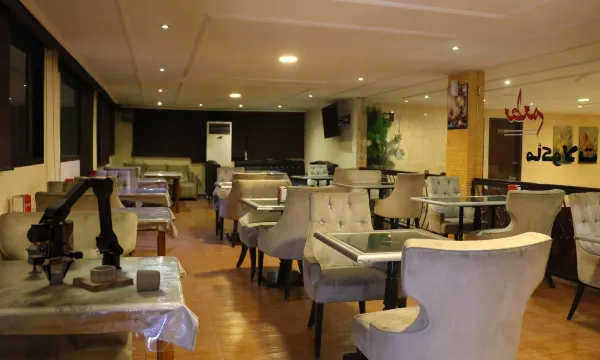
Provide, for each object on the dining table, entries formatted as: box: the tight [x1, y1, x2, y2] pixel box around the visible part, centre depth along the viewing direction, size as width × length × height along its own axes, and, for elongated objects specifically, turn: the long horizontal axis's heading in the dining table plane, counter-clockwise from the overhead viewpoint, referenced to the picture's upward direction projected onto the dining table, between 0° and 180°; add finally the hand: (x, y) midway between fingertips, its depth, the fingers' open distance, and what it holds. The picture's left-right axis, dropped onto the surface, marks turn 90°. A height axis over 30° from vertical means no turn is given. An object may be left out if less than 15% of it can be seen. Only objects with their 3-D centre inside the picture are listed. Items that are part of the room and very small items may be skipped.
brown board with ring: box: [72, 265, 134, 293], centre depth 199 cm, size 16×16×6 cm
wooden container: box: [37, 219, 75, 265], centre depth 236 cm, size 15×15×22 cm
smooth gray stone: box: [48, 270, 64, 286], centre depth 198 cm, size 5×5×4 cm
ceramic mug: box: [135, 269, 161, 292], centre depth 192 cm, size 11×8×8 cm
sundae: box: [25, 242, 42, 275], centre depth 213 cm, size 7×7×15 cm
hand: (56, 279), depth 198 cm, fingers closed on smooth gray stone, 5 cm apart
